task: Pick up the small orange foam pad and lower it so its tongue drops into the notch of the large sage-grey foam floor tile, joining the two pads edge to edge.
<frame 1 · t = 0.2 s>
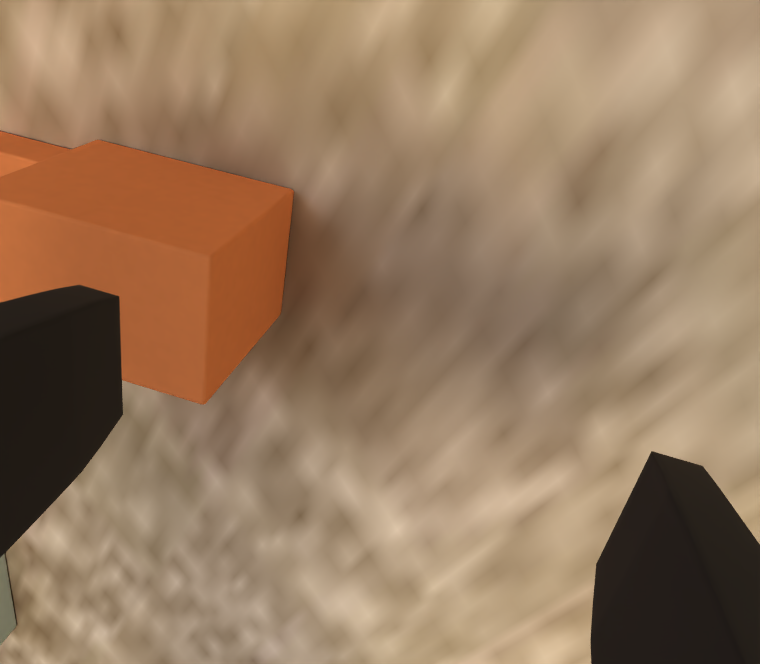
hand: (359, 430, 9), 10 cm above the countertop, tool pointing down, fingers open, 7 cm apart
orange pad: (192, 229, 20), on the countertop
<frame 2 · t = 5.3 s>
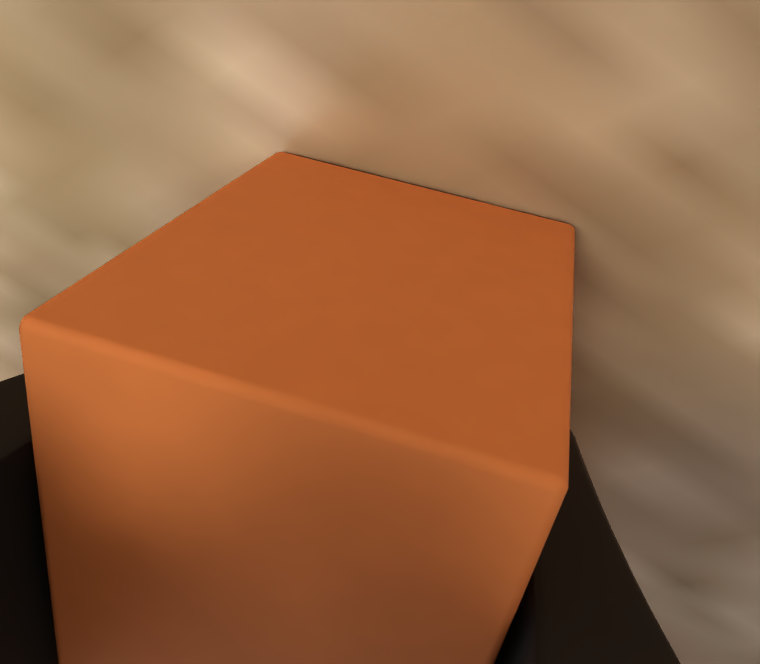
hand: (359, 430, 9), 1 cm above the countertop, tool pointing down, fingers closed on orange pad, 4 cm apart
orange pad: (383, 374, 10), on the countertop, touching gripper
when the fingers open (2 cm above the countertop, at t = 10.3 s): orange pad stays where it is, resting on grey tile.
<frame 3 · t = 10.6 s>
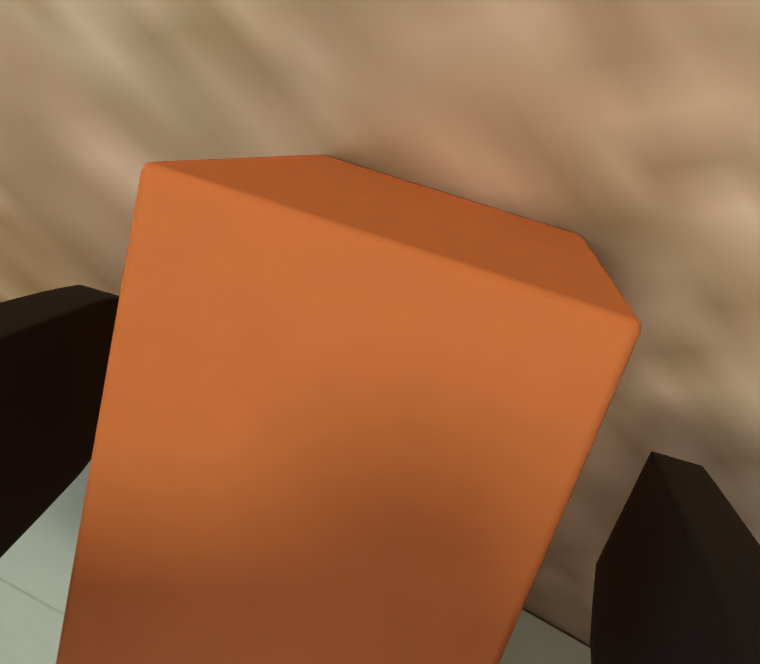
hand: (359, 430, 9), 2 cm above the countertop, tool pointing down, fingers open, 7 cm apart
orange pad: (389, 380, 11), point 1 cm above the countertop, tilted 14°, touching grey tile
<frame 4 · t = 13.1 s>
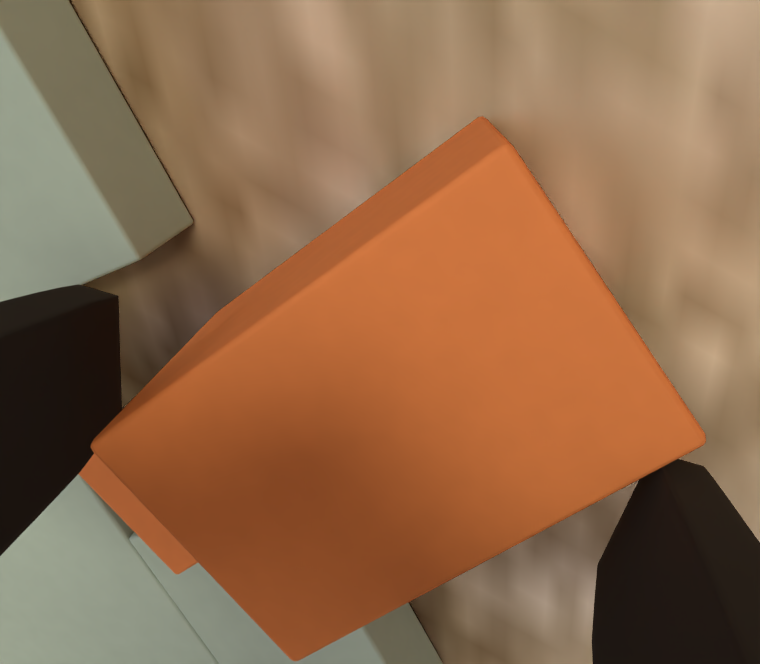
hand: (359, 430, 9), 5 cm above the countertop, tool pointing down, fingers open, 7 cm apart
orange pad: (406, 308, 13), point 1 cm above the countertop, tilted 12°, touching gripper
grey tile: (0, 426, 18), on the countertop
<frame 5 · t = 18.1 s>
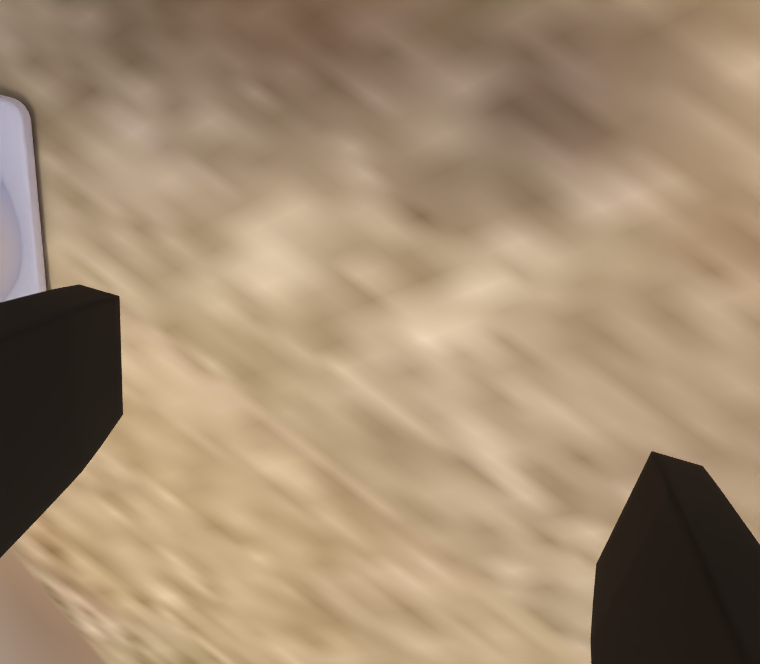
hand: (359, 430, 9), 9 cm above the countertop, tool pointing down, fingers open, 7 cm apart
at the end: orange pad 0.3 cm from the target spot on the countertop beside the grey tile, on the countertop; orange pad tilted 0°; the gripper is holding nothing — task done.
